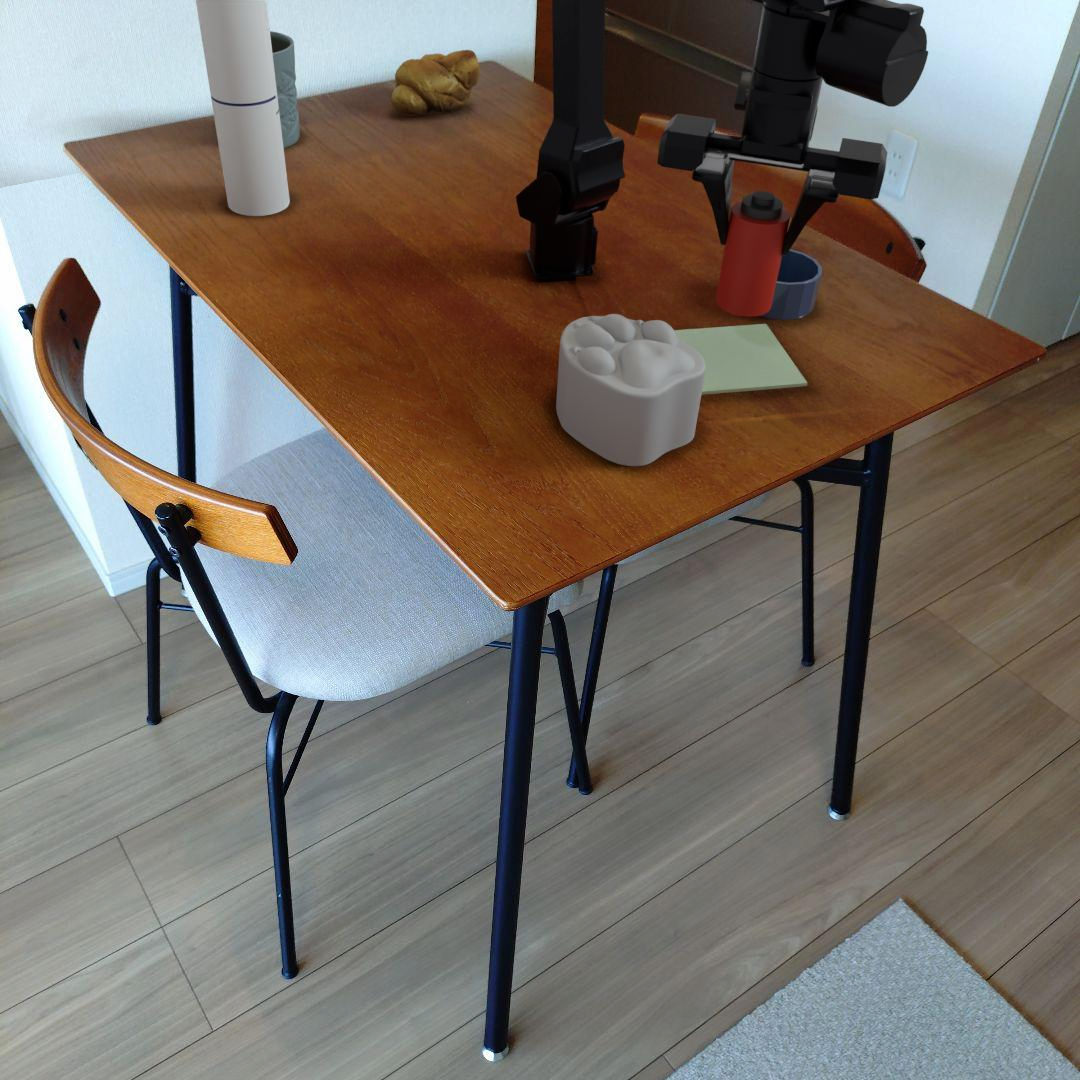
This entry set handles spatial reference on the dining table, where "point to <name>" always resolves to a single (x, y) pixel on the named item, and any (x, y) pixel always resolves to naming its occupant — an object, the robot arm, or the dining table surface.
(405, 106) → the bread roll
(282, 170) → the cylindrical container
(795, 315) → the cup
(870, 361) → the dining table surface
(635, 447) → the lumpy-topped squat cylinder
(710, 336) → the tile
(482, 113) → the dining table surface
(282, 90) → the embossed grey-green pot
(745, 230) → the bottle
